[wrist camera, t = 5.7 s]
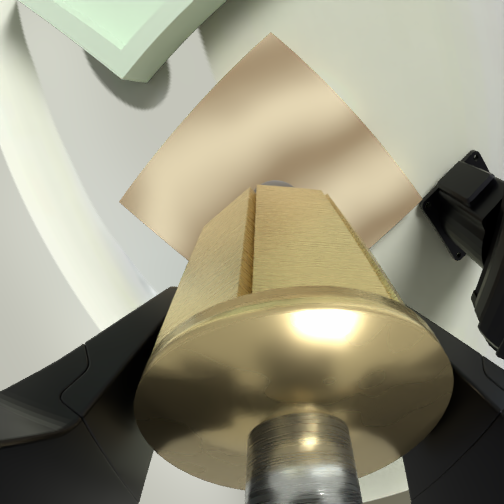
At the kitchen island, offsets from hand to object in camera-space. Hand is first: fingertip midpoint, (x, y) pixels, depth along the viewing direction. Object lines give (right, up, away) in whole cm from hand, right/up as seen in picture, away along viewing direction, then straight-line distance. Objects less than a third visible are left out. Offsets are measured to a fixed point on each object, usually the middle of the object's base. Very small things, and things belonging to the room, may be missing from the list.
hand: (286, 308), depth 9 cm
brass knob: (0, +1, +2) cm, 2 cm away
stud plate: (0, +6, +12) cm, 13 cm away
